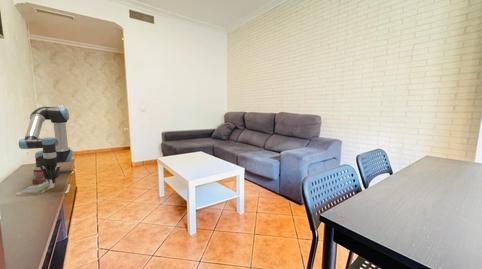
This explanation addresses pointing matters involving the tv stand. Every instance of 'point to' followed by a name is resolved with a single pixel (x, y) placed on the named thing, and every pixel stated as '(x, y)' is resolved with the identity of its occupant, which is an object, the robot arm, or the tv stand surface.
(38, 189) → the leg
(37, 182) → the board
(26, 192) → the seat pad
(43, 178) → the mug
